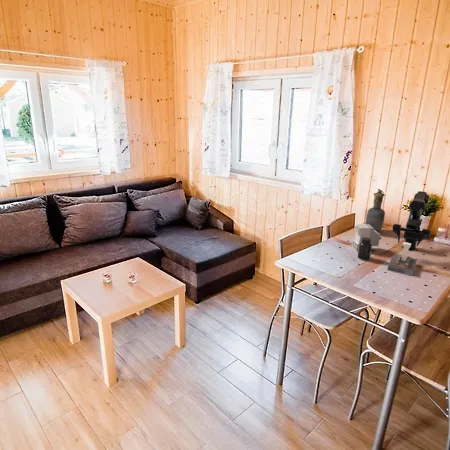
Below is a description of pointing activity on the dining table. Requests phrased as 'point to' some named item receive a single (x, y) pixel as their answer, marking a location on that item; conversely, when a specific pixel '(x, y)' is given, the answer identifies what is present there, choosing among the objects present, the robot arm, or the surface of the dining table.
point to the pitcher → (376, 212)
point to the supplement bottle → (365, 249)
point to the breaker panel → (402, 265)
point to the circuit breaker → (365, 235)
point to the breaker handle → (405, 251)
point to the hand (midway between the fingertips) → (407, 244)
